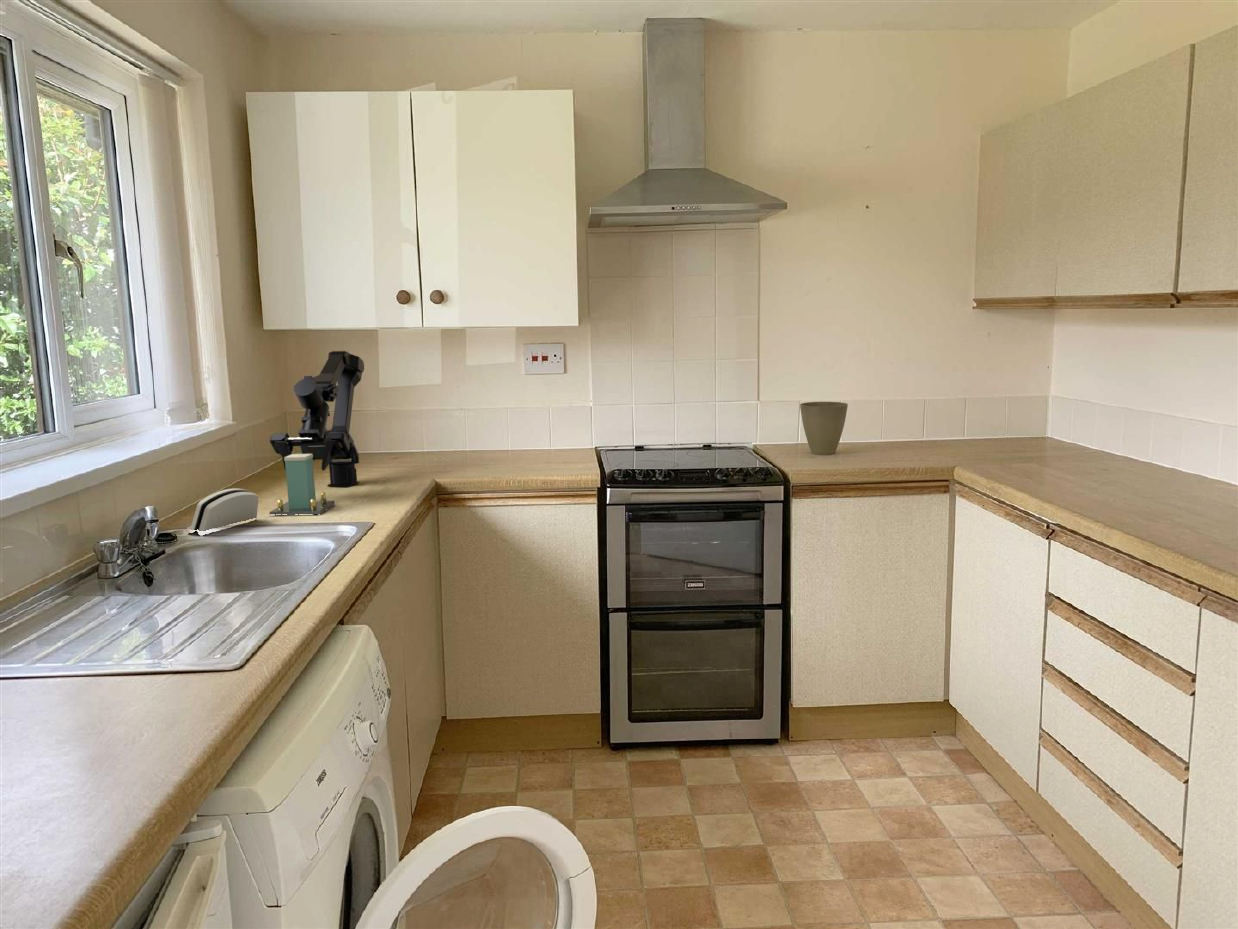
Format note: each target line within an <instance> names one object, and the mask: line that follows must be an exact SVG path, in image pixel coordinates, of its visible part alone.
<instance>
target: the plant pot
mask: <svg viewBox="0 0 1238 929" xmlns="http://www.w3.org/2000/svg"><path fill="white" fill-rule="evenodd" d="M848 406H849V405H848V403H847V402H841V401H809V402H801V403H800V404H799V407H800V408H799V410H800V414H801V419H802V420H801V421H802V426H803V430H804V433H805V437H806V441H807V444H808V447H809V449H810V453H811V454H813V455H819V456H828V455H834V454H836V451H837V449H838V446H839V443H840V441H841V438H842V434H843V430H844V427H845V423H846V418H847V411H848Z"/></svg>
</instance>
